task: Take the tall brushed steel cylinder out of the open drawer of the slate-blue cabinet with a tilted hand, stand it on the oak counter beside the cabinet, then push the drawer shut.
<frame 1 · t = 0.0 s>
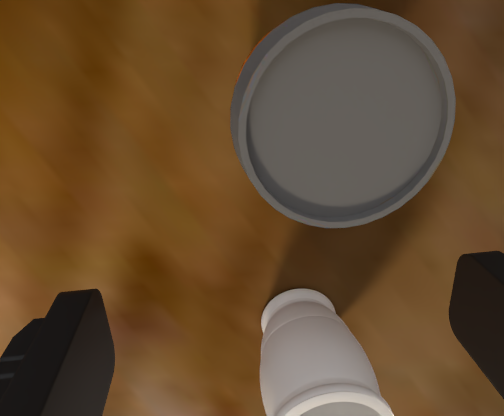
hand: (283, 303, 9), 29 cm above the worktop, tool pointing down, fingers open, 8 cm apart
jar: (297, 317, 47), on the worktop
reusable coffee cup: (295, 87, 37), on the worktop
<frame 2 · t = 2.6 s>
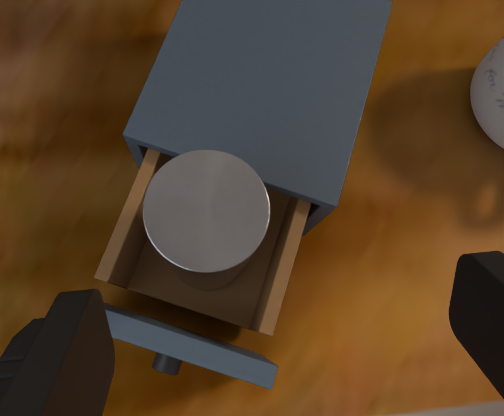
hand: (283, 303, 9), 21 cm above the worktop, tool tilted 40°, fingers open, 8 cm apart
cabinet: (253, 125, 33), on the worktop
drawer: (206, 251, 26), point 4 cm above the worktop, slide at 9.0 cm, touching brushed steel cylinder
brushed steel cylinder: (208, 252, 29), point 2 cm above the worktop, touching drawer
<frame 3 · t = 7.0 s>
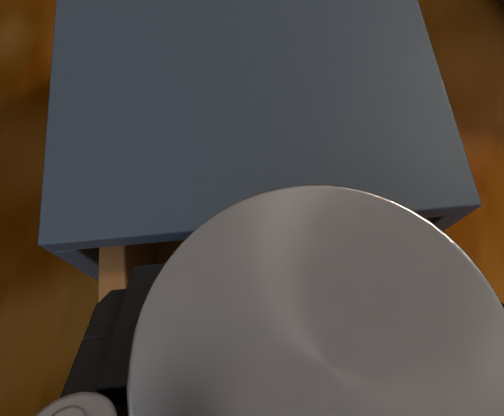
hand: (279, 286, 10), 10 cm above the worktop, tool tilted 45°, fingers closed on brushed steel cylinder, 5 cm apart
cabinet: (241, 145, 22), on the worktop
drawer: (273, 375, 14), point 4 cm above the worktop, slide at 9.0 cm, touching brushed steel cylinder
brushed steel cylinder: (267, 366, 17), point 2 cm above the worktop, touching drawer, gripper
when the fingers open (8 cm above the worktop, at t = 15.9 s): brushed steel cylinder stays where it is, on the worktop.
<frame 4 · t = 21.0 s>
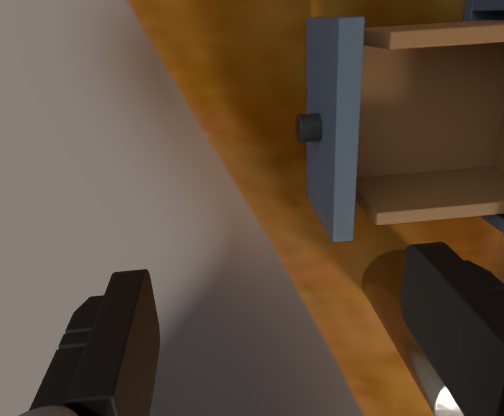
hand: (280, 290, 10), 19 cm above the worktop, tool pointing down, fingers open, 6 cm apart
drawer: (423, 119, 24), point 4 cm above the worktop, slide at 9.0 cm
brushed steel cylinder: (393, 278, 34), on the worktop
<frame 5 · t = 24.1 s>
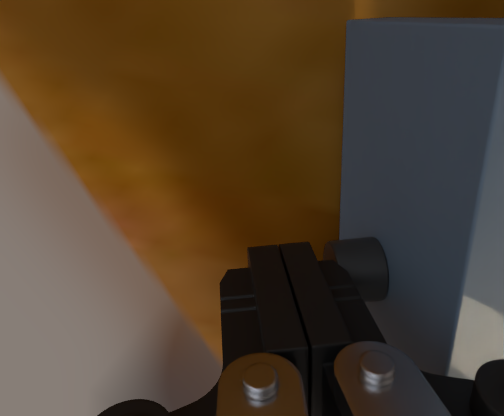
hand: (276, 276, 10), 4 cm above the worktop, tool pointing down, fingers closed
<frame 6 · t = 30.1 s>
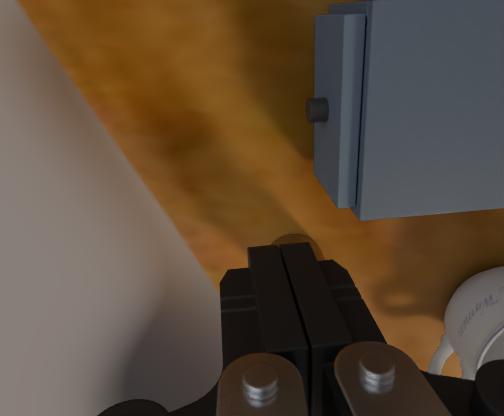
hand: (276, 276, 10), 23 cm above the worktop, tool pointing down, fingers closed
cabinet: (420, 90, 32), on the worktop
teacup: (466, 303, 42), on the worktop
drawer: (415, 102, 28), point 4 cm above the worktop, slide at 0.0 cm, touching cabinet
brushed steel cylinder: (292, 259, 37), on the worktop
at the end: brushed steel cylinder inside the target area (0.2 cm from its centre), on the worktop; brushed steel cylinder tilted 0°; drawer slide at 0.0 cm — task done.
